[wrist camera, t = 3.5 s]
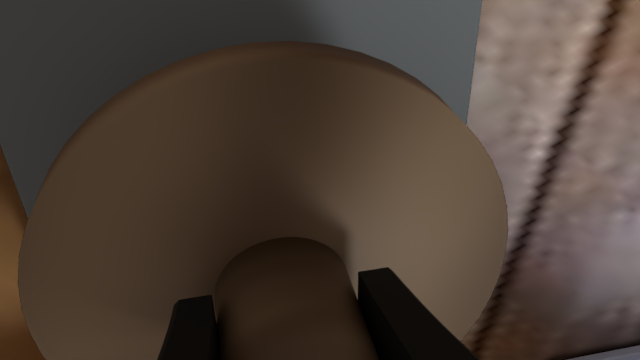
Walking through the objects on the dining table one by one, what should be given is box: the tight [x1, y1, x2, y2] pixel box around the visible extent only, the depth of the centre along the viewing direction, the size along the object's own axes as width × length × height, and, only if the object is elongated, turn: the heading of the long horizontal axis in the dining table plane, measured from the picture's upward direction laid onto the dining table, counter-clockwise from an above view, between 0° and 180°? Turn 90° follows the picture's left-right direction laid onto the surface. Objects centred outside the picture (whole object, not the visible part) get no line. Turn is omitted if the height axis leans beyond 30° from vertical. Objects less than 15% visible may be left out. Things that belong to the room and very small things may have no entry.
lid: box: [18, 41, 508, 360], centre depth 11 cm, size 10×10×5 cm
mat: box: [0, 0, 482, 219], centre depth 16 cm, size 12×12×1 cm
